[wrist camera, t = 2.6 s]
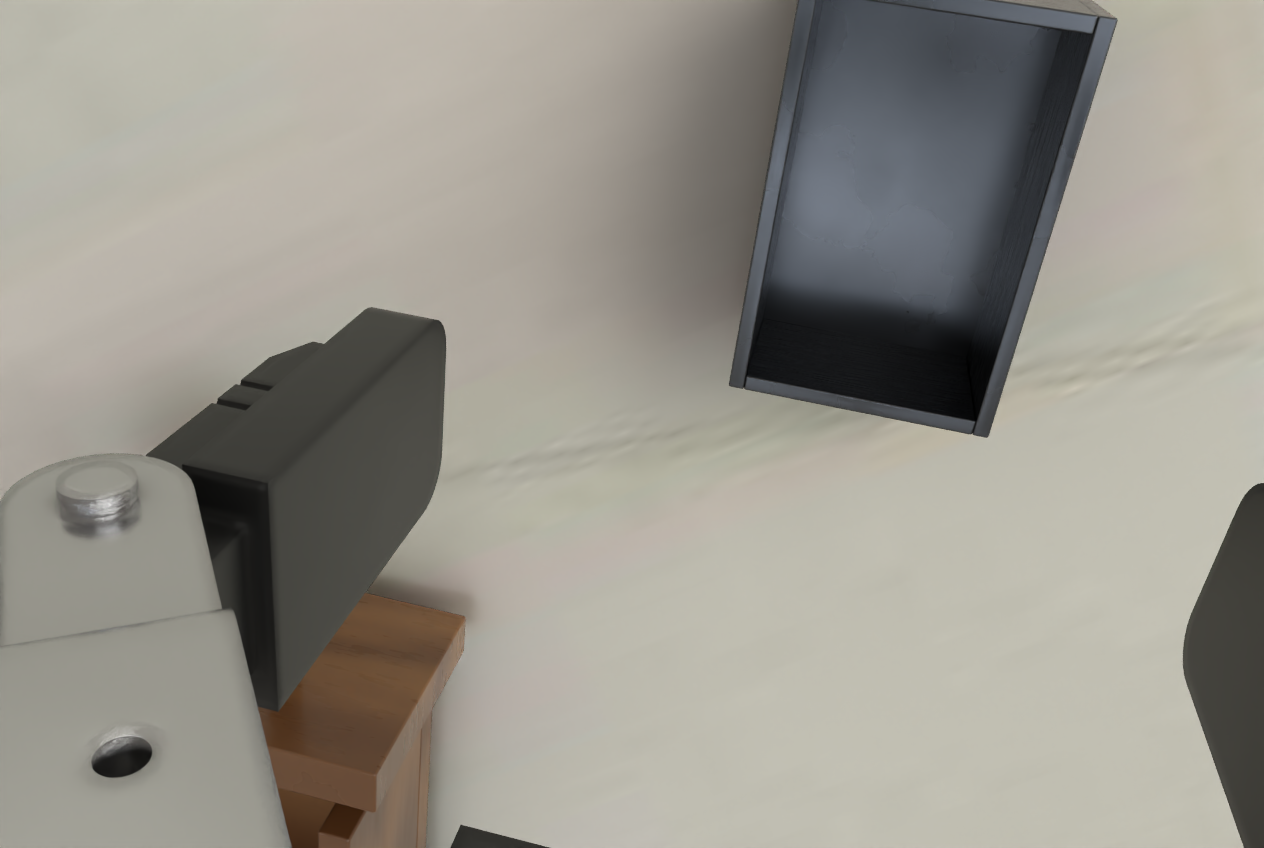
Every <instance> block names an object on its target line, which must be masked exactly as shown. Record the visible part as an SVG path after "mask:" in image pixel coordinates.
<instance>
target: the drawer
mask: <svg viewBox="0 0 1264 848" xmlns="http://www.w3.org/2000/svg"><path fill="white" fill-rule="evenodd" d="M465 621H466V618H465V616H462V615H457V614H453V613H449V612H445V611H440V610H436V609H432V608H428V607H423V606H419V605H415V604H411V603H406V602H402V601H398V600H393V599H389V598H385V597H381V596H376V595H372V594H368V593H365V594H364V595H363V596H362V598H361V599H360V600H359V602H358V603H357V605H356V606H355V607H354V609H353V610H352V611H351V613H350V614H349V616H348V617H347V618H346V620H345V621H344V622H343V624H342V625H341V627H340V628H339V629H338V631H337V632H336V633H335V635H334V636H333V638H332V639H331V640H330V642H329V643H328V644H327V646H326V647H325V649H324V650H323V651H322V653H321V654H320V655H319V657H318V658H317V660H316V661H315V662H314V664H313V665H312V666H311V668H310V669H309V671H308V672H307V673H306V675H305V676H304V677H303V679H302V680H301V681H300V683H299V684H298V686H297V687H296V688H295V690H294V691H293V692H292V694H291V695H290V697H289V698H288V699H287V701H286V702H285V703H284V705H283V706H282V708H281V709H280V710H279V712H277V711H273V710H269V709H265V708H261V707H258V710H259V714H260V718H261V723H262V727H263V731H264V735H265V739H266V743H267V747H268V751H269V755H270V760H271V764H272V768H273V772H274V776H275V780H276V784H277V788H278V793H279V797H280V801H281V805H282V809H283V813H284V817H285V821H286V826H287V830H288V834H289V838H290V842H291V846H292V848H426V830H427V808H428V786H429V765H430V743H431V721H432V708H433V706H434V704H435V703H436V701H437V699H438V697H439V695H440V693H441V692H442V690H443V688H444V686H445V684H446V682H447V681H448V679H449V677H450V675H451V673H452V671H453V670H454V668H455V666H456V664H457V662H458V660H459V659H460V657H461V655H462V653H463V651H464V637H465Z"/></svg>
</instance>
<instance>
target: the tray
mask: <svg viewBox="0 0 1264 848" xmlns="http://www.w3.org/2000/svg"><path fill="white" fill-rule="evenodd" d="M1116 24H1117V18H1115V17H1114V16H1113V15H1111V14H1110V13H1108V12H1107V11H1106V10H1104V9H1103V8H1102V7H1100V6H1099V5H1098V4H1096V3H1095V2H1093V1H1092V0H798V2H797V8H796V13H795V19H794V24H793V30H792V36H791V41H790V47H789V52H788V58H787V63H786V69H785V75H784V80H783V86H782V91H781V97H780V102H779V108H778V114H777V119H776V125H775V130H774V136H773V141H772V147H771V153H770V158H769V164H768V169H767V175H766V180H765V186H764V192H763V197H762V203H761V208H760V214H759V219H758V225H757V231H756V236H755V242H754V247H753V253H752V258H751V264H750V270H749V275H748V281H747V286H746V292H745V297H744V303H743V309H742V314H741V320H740V325H739V331H738V336H737V342H736V348H735V353H734V359H733V364H732V370H731V375H730V381H729V386H731V387H736V388H741V389H743V388H744V389H746V390H751V391H756V392H761V393H766V394H771V395H776V396H781V397H786V398H791V399H796V400H801V401H806V402H811V403H816V404H821V405H826V406H831V407H836V408H841V409H846V410H851V411H856V412H861V413H866V414H871V415H876V416H881V417H886V418H891V419H896V420H901V421H906V422H911V423H916V424H921V425H926V426H931V427H936V428H941V429H946V430H951V431H956V432H961V433H966V434H972V433H973V435H976V436H981V437H986V438H987V437H988V436H989V433H990V430H991V427H992V423H993V420H994V417H995V414H996V411H997V407H998V404H999V401H1000V398H1001V394H1002V391H1003V388H1004V385H1005V382H1006V378H1007V375H1008V372H1009V369H1010V365H1011V362H1012V359H1013V356H1014V353H1015V349H1016V346H1017V343H1018V340H1019V336H1020V333H1021V330H1022V327H1023V324H1024V320H1025V317H1026V314H1027V311H1028V307H1029V304H1030V301H1031V298H1032V295H1033V291H1034V288H1035V285H1036V282H1037V278H1038V275H1039V272H1040V269H1041V266H1042V262H1043V259H1044V256H1045V253H1046V249H1047V246H1048V243H1049V240H1050V237H1051V233H1052V230H1053V227H1054V224H1055V220H1056V217H1057V214H1058V211H1059V208H1060V204H1061V201H1062V198H1063V195H1064V191H1065V188H1066V185H1067V182H1068V179H1069V175H1070V172H1071V169H1072V166H1073V162H1074V159H1075V156H1076V153H1077V150H1078V146H1079V143H1080V140H1081V137H1082V133H1083V130H1084V127H1085V124H1086V121H1087V117H1088V114H1089V111H1090V108H1091V104H1092V101H1093V98H1094V95H1095V92H1096V88H1097V85H1098V82H1099V79H1100V75H1101V72H1102V69H1103V66H1104V63H1105V59H1106V56H1107V53H1108V50H1109V46H1110V43H1111V40H1112V37H1113V34H1114V30H1115V27H1116Z"/></svg>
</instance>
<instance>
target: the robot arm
mask: <svg viewBox="0 0 1264 848" xmlns="http://www.w3.org/2000/svg"><path fill="white" fill-rule="evenodd" d="M445 363H446V336H445V330H444V327H443V325H442V323H441V322H440V321H439V320H434V319H429V318H424V317H419V316H414V315H409V314H403V313H398V312H393V311H388V310H383V309H378V308H373V307H370V308H367V309H366V310H364V311H363V312H362V313H361V314H359V315H358V316H357V317H356V318H355V319H354V320H352V321H351V322H350V323H349V324H348V325H346V326H345V327H344V328H343V329H342V330H340V331H339V332H338V333H337V334H336V335H335V336H333V337H332V338H331V339H330V340H329V341H327V342H326V343H325V344H322V343H317V342H311V343H308V344H305V345H303V346H300V347H297V348H294V349H292V350H289V351H286V352H283V353H281V354H278V355H275V356H272V357H270V358H268V359H267V360H266V361H265V362H263V363H262V364H261V365H260V366H258V367H257V368H256V369H254V370H253V371H252V372H251V373H249V374H248V375H247V376H246V377H244V378H243V379H242V380H241V384H240V385H236V384H235V385H234V386H233V387H232V388H230V389H229V390H228V391H227V392H225V393H224V394H223V395H222V396H220V397H219V398H218V401H217V404H213V403H211V404H210V405H209V406H208V407H206V408H205V409H204V410H203V411H201V412H200V413H199V414H198V415H196V416H195V417H194V418H192V419H191V420H190V421H189V422H187V423H186V424H185V425H184V426H182V427H181V428H180V429H179V430H177V431H176V432H175V433H174V434H172V435H171V436H170V437H168V438H167V439H166V440H165V441H163V442H162V443H161V444H160V445H158V446H157V447H156V448H155V449H153V450H152V451H151V452H149V453H148V454H147V455H146V456H143V455H134V454H99V455H90V456H83V457H77V458H73V459H69V460H64V461H61V462H58V463H55V464H52V465H49V466H46V467H44V468H41V469H39V470H37V471H34V472H33V473H31V474H29V475H27V476H26V477H24V478H22V479H21V480H19V481H18V482H17V483H15V484H14V485H13V486H12V487H11V488H10V489H9V490H8V491H7V492H6V493H5V494H4V496H3V498H2V499H1V501H0V848H292V846H291V842H290V838H289V834H288V830H287V826H286V821H285V817H284V813H283V809H282V805H281V801H280V797H279V793H278V788H277V784H276V780H275V776H274V772H273V768H272V764H271V760H270V755H269V751H268V747H267V743H266V739H265V735H264V731H263V727H262V723H261V718H260V714H259V710H258V707H261V708H265V709H269V710H273V711H277V712H279V710H280V709H281V708H282V706H283V705H284V703H285V702H286V701H287V699H288V698H289V697H290V695H291V694H292V692H293V691H294V690H295V688H296V687H297V686H298V684H299V683H300V681H301V680H302V679H303V677H304V676H305V675H306V673H307V672H308V671H309V669H310V668H311V666H312V665H313V664H314V662H315V661H316V660H317V658H318V657H319V655H320V654H321V653H322V651H323V650H324V649H325V647H326V646H327V644H328V643H329V642H330V640H331V639H332V638H333V636H334V635H335V633H336V632H337V631H338V629H339V628H340V627H341V625H342V624H343V622H344V621H345V620H346V618H347V617H348V616H349V614H350V613H351V611H352V610H353V609H354V607H355V606H356V605H357V603H358V602H359V600H360V599H361V598H362V596H363V595H364V594H365V592H366V591H367V589H368V588H369V587H370V585H371V584H372V583H373V581H374V580H375V579H376V577H377V576H378V574H379V573H380V572H381V570H382V569H383V568H384V566H385V565H386V563H387V562H388V561H389V559H390V558H391V557H392V555H393V554H394V552H395V551H396V550H397V548H398V547H399V546H400V544H401V543H402V541H403V540H404V539H405V537H406V536H407V535H408V533H409V532H410V530H411V529H412V528H413V526H414V525H415V524H416V522H417V521H418V519H419V518H420V517H421V515H422V514H423V513H424V511H425V510H426V508H427V506H428V504H429V502H430V500H431V498H432V495H433V492H434V490H435V486H436V483H437V479H438V475H439V471H440V465H441V458H442V439H443V413H444V388H445ZM1183 669H1184V676H1185V679H1186V683H1187V686H1188V689H1189V691H1190V694H1191V697H1192V700H1193V703H1194V706H1195V709H1196V711H1197V714H1198V717H1199V720H1200V723H1201V726H1202V729H1203V731H1204V734H1205V737H1206V740H1207V743H1208V746H1209V749H1210V751H1211V754H1212V757H1213V760H1214V763H1215V766H1216V769H1217V771H1218V774H1219V777H1220V780H1221V783H1222V786H1223V789H1224V792H1225V794H1226V797H1227V800H1228V803H1229V806H1230V809H1231V812H1232V814H1233V817H1234V820H1235V823H1236V826H1237V829H1238V832H1239V834H1240V837H1241V840H1242V843H1243V846H1244V848H1264V483H1260V484H1257V485H1255V486H1253V487H1252V488H1251V489H1250V490H1249V491H1248V492H1247V493H1246V495H1245V496H1244V498H1243V499H1242V501H1241V503H1240V505H1239V507H1238V509H1237V511H1236V513H1235V515H1234V518H1233V520H1232V522H1231V524H1230V527H1229V529H1228V531H1227V534H1226V536H1225V538H1224V540H1223V543H1222V545H1221V547H1220V550H1219V552H1218V554H1217V556H1216V559H1215V561H1214V563H1213V565H1212V568H1211V570H1210V572H1209V575H1208V577H1207V579H1206V581H1205V584H1204V586H1203V588H1202V590H1201V593H1200V595H1199V597H1198V600H1197V602H1196V604H1195V606H1194V609H1193V611H1192V613H1191V616H1190V619H1189V622H1188V625H1187V629H1186V634H1185V639H1184V647H1183ZM451 848H549V847H545V846H541V845H537V844H533V843H529V842H525V841H521V840H518V839H514V838H510V837H506V836H502V835H498V834H494V833H490V832H487V831H483V830H479V829H475V828H471V827H467V826H463V825H461V826H460V828H459V830H458V832H457V835H456V837H455V839H454V841H453V843H452V846H451Z"/></svg>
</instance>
